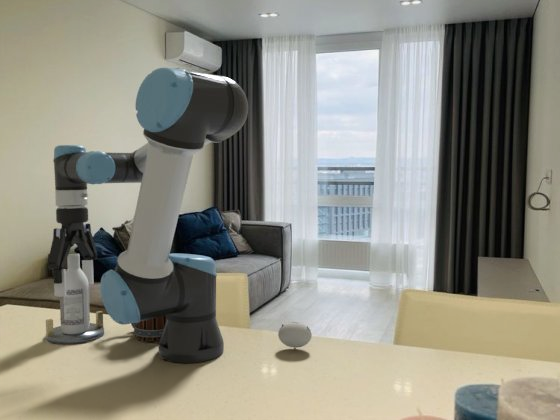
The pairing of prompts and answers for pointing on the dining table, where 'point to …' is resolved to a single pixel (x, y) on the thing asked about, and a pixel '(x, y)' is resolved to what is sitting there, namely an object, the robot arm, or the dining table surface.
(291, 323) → the figurine
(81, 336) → the disc
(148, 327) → the mug
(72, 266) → the bath foam
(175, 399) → the dining table surface
